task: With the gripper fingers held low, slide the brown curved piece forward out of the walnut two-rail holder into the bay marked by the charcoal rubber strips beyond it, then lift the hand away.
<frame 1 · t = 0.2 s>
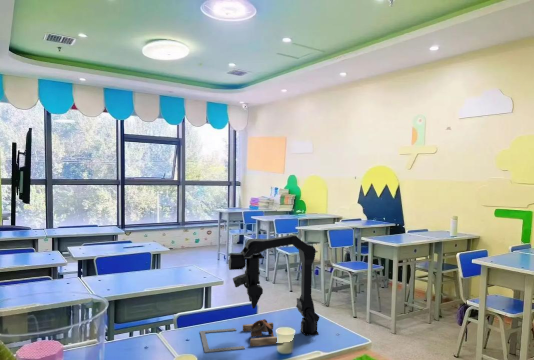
hand: (252, 304, 161), 14 cm above the table, tool pointing down, fingers open, 9 cm apart
bay: (223, 339, 158), on the table
brown curved piece: (262, 337, 162), on the table
holder: (262, 336, 163), on the table
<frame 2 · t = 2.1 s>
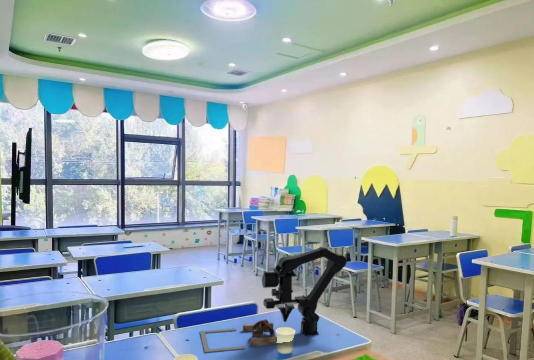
hand: (284, 321, 165), 6 cm above the table, tool pointing down, fingers closed
nothing on the table moved.
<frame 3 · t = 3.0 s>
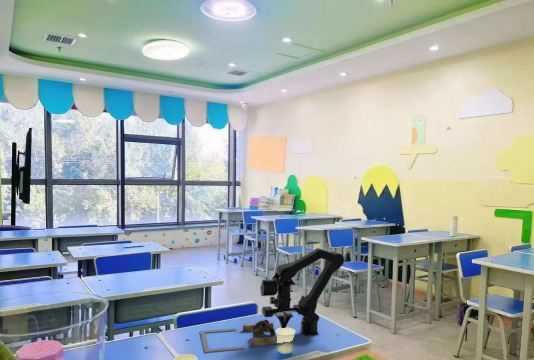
hand: (283, 330, 165), 2 cm above the table, tool pointing down, fingers closed
nothing on the table moved.
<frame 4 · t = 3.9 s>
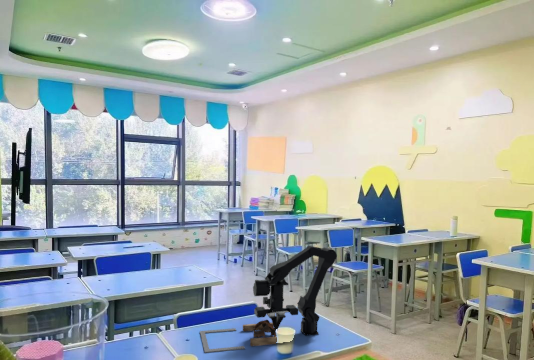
hand: (275, 330, 164), 2 cm above the table, tool pointing down, fingers closed
brown curved piece: (265, 337, 162), on the table, touching gripper
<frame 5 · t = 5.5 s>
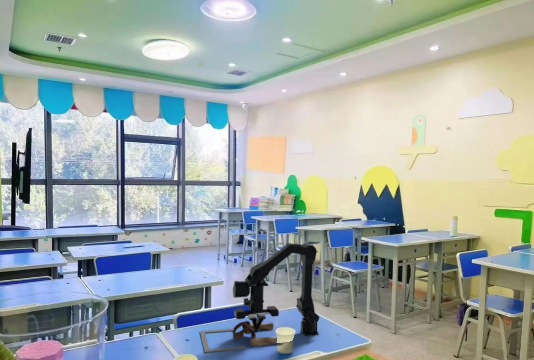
hand: (256, 332, 162), 2 cm above the table, tool pointing down, fingers closed
brown curved piece: (245, 339, 159), on the table, touching gripper
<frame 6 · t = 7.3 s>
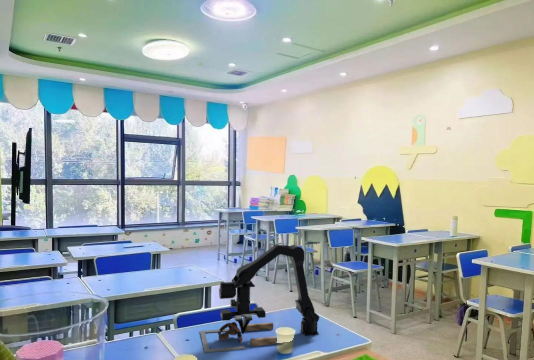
hand: (242, 333, 160), 2 cm above the table, tool pointing down, fingers closed
brown curved piece: (231, 340, 158), on the table, touching gripper
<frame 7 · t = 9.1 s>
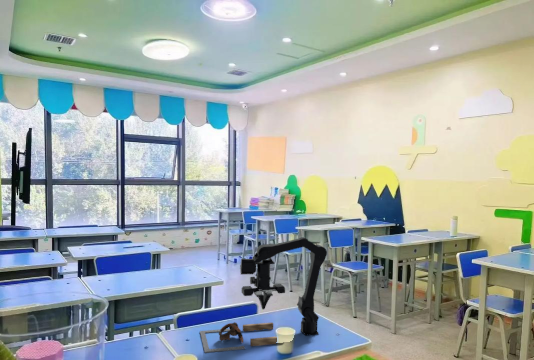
hand: (263, 309, 165), 11 cm above the table, tool pointing down, fingers closed
brown curved piece: (232, 341, 158), on the table
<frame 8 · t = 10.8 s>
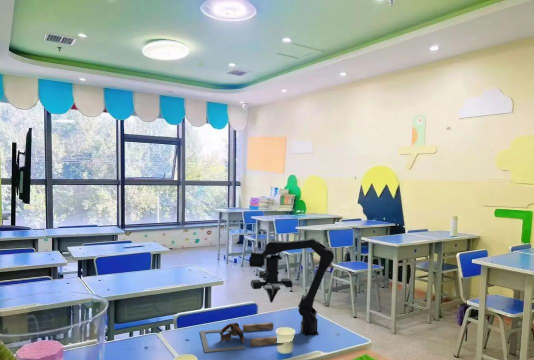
hand: (271, 302, 172), 12 cm above the table, tool pointing down, fingers closed
nothing on the table moved.
at the end: brown curved piece inside the target area (4.2 cm from its centre), on the table; brown curved piece tilted 0° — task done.
